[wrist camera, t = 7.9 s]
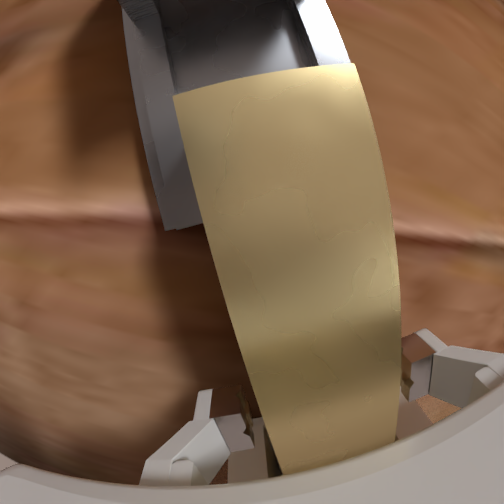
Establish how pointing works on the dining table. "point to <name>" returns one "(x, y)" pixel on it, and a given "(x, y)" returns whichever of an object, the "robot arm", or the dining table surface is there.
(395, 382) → the olive rectangular bar
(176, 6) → the sleeve
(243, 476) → the socket
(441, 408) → the dining table surface
